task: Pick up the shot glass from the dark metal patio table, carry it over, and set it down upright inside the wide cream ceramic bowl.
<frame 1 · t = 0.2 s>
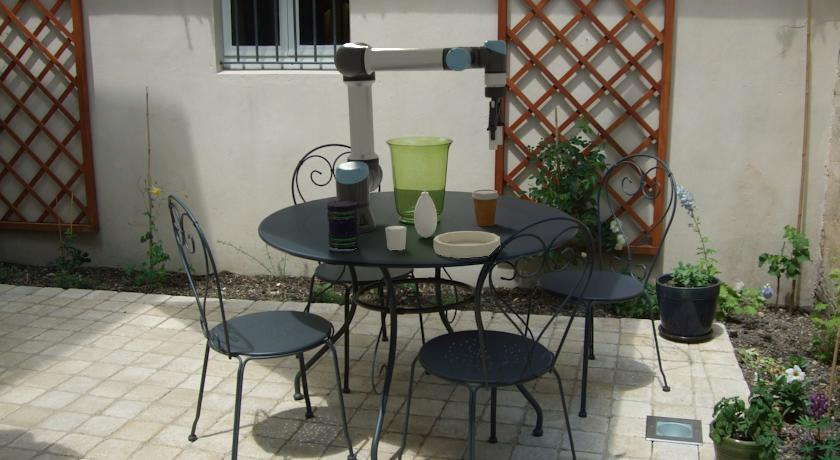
hand: (495, 147, 310), 28 cm above the table, tool pointing down, fingers open, 13 cm apart
sauce bottle: (426, 237, 299), on the table
shot glass: (396, 249, 285), on the table
storage jar: (344, 249, 286), on the table
disposable coffee cup: (485, 225, 317), on the table
cream bowl: (467, 250, 279), on the table
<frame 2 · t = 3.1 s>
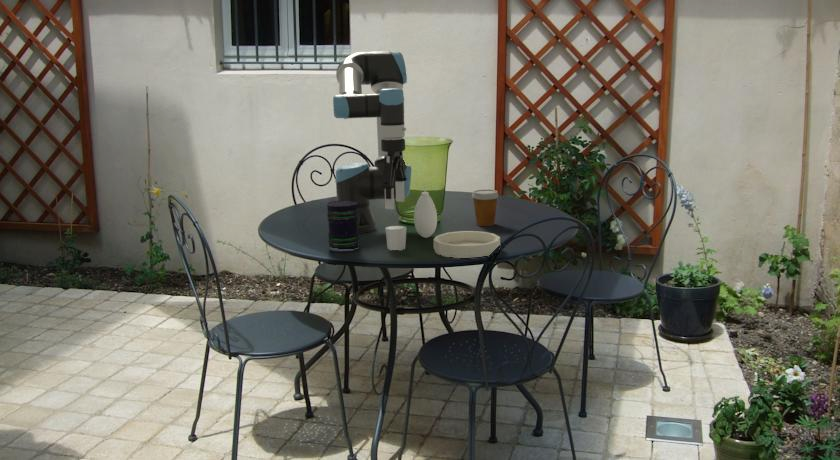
hand: (395, 205, 281), 14 cm above the table, tool pointing down, fingers open, 13 cm apart
nothing on the table moved.
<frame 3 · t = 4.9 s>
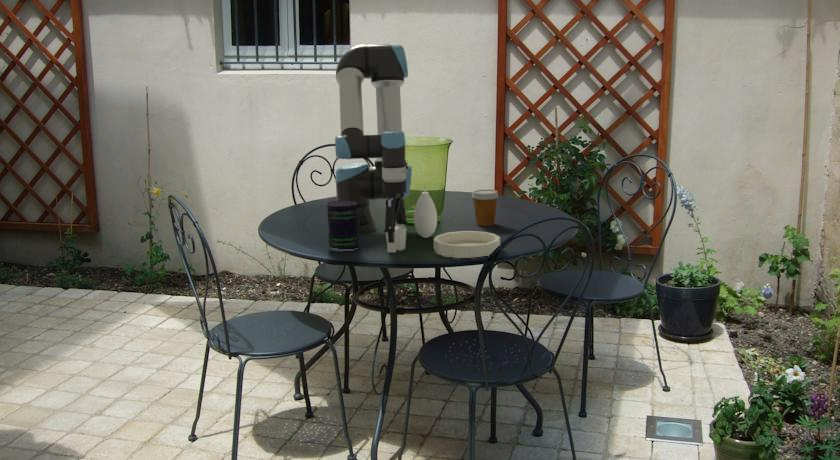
hand: (396, 247, 284), 0 cm above the table, tool pointing down, fingers open, 11 cm apart
nothing on the table moved.
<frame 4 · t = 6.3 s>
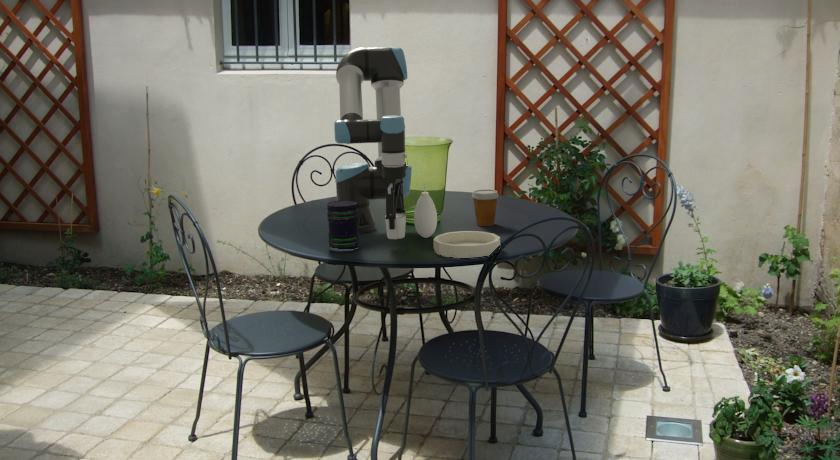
hand: (396, 235, 284), 4 cm above the table, tool pointing down, fingers closed on shot glass, 7 cm apart
shot glass: (396, 237, 284), point 4 cm above the table, touching gripper
everything else where it was.
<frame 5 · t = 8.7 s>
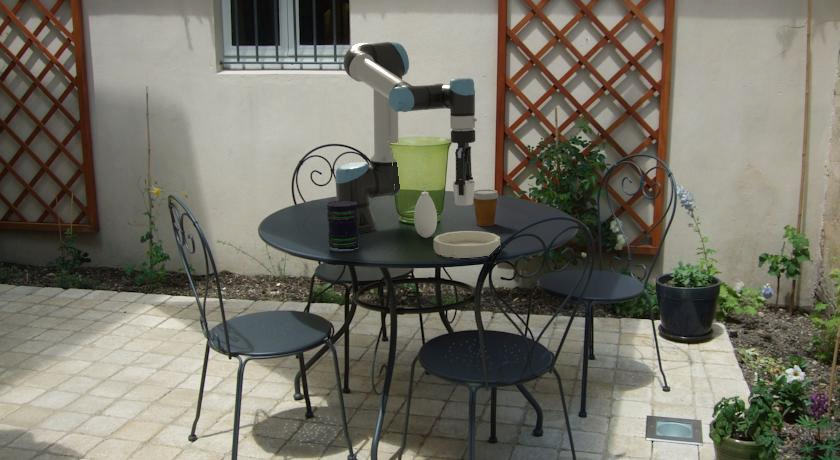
hand: (464, 203, 276), 15 cm above the table, tool pointing down, fingers closed on shot glass, 7 cm apart
shot glass: (464, 204, 276), point 15 cm above the table, touching gripper
everything else where it was.
when the fingers open (2 cm above the table, at t = 11.4 s): shot glass drops 1 cm, resting on cream bowl.
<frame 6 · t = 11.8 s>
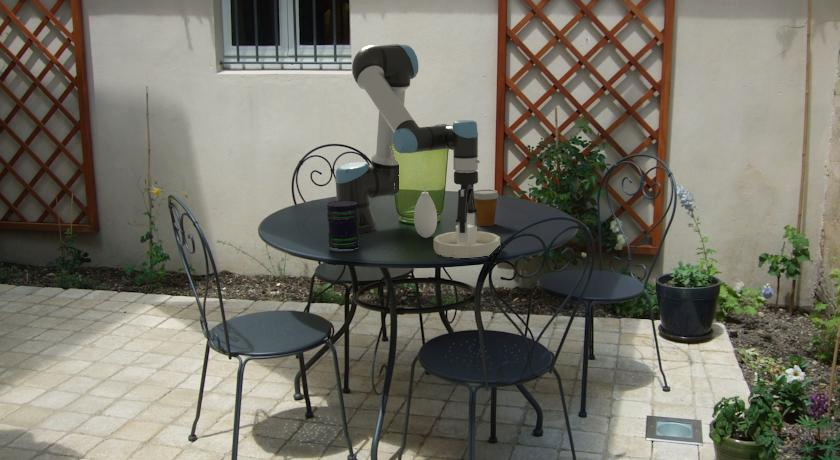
hand: (466, 237, 279), 4 cm above the table, tool pointing down, fingers open, 13 cm apart
shot glass: (466, 248, 279), point 1 cm above the table, touching cream bowl
everything else where it was.
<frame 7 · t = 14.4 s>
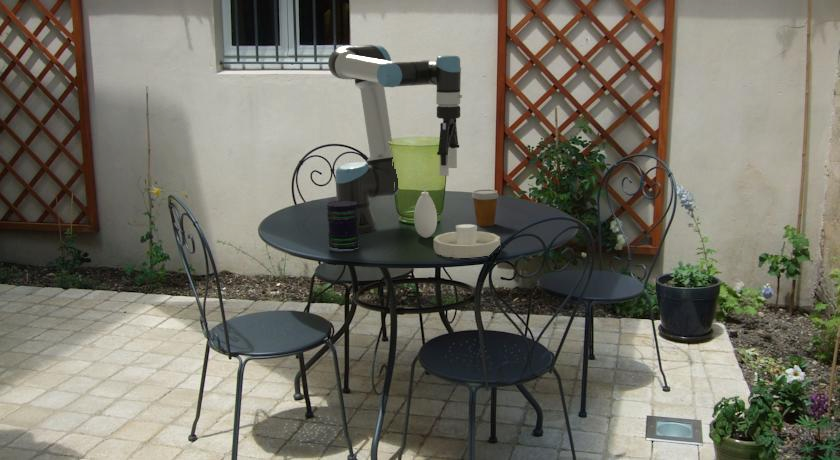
hand: (448, 171, 285), 24 cm above the table, tool pointing down, fingers open, 13 cm apart
nothing on the table moved.
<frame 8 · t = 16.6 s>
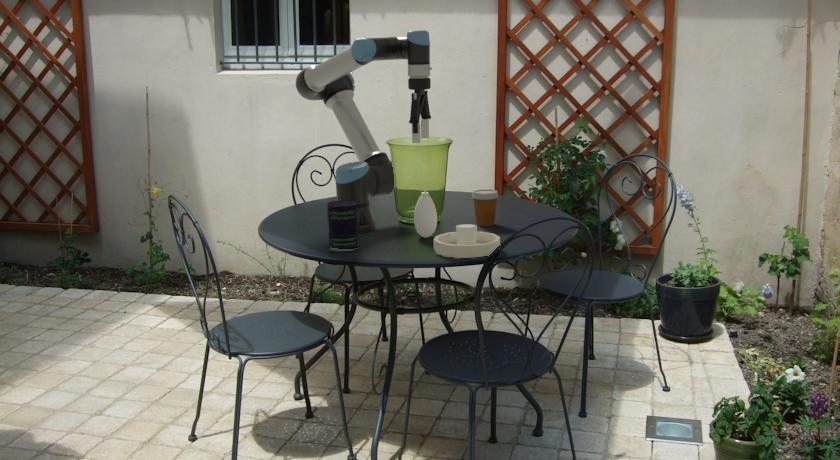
hand: (420, 140, 302), 32 cm above the table, tool pointing down, fingers open, 13 cm apart
nothing on the table moved.
at the end: shot glass inside the target area on the cream bowl (0.1 cm from its centre), point 0.8 cm above the cream bowl's base; shot glass tilted 0°; the gripper is holding nothing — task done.
